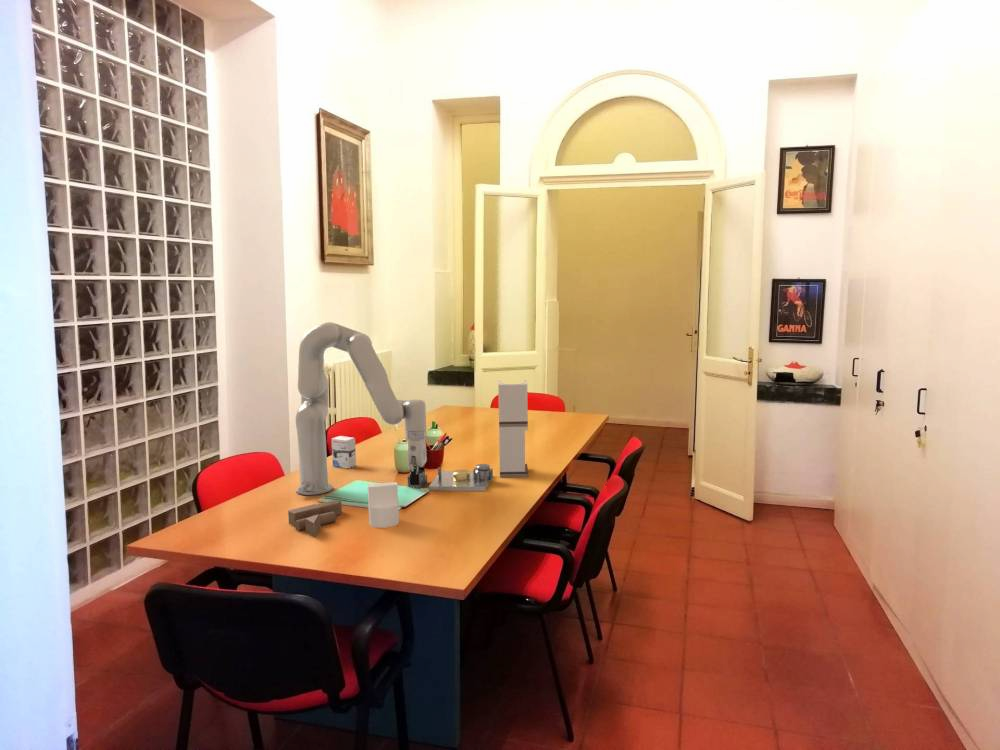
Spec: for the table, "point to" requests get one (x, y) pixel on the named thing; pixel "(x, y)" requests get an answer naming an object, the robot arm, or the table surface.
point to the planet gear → (421, 480)
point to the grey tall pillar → (512, 429)
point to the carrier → (463, 479)
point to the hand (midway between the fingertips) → (417, 481)
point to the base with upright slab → (383, 504)
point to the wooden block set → (314, 516)
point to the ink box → (343, 452)
